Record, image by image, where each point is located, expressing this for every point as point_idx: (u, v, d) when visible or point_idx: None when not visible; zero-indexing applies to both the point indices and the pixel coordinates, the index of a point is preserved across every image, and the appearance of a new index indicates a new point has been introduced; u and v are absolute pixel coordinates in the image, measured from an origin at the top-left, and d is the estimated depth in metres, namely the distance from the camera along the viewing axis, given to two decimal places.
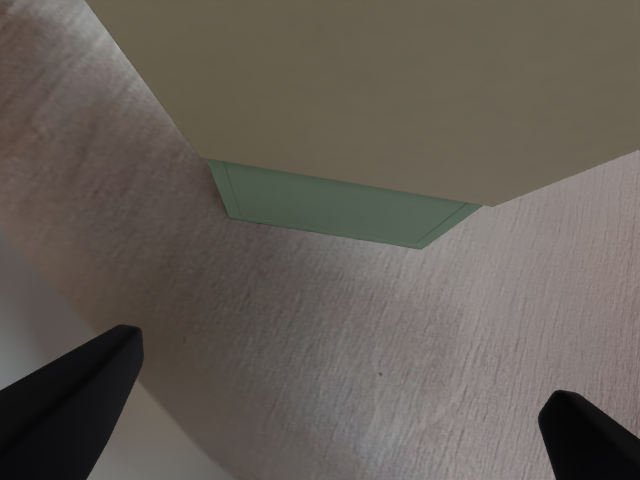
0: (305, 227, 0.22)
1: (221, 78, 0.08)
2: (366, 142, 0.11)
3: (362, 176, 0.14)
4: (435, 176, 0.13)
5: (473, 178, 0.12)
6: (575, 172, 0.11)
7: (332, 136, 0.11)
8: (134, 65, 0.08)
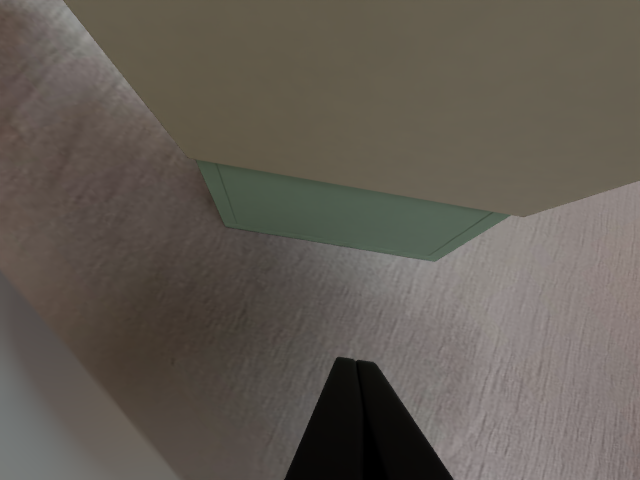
0: (307, 237, 0.20)
1: (206, 54, 0.07)
2: (386, 140, 0.09)
3: (376, 181, 0.12)
4: (464, 181, 0.11)
5: (509, 184, 0.10)
6: None
7: (344, 132, 0.09)
8: (94, 36, 0.07)
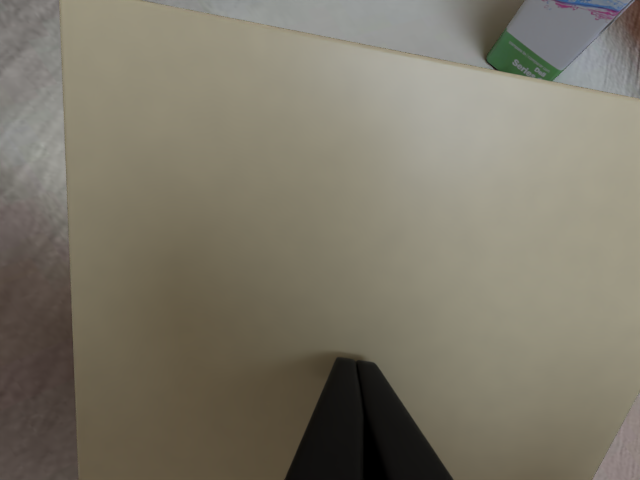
0: None
1: (178, 292, 0.07)
2: None
3: None
4: None
5: (501, 471, 0.09)
6: (617, 423, 0.08)
7: (303, 396, 0.08)
8: (73, 282, 0.07)
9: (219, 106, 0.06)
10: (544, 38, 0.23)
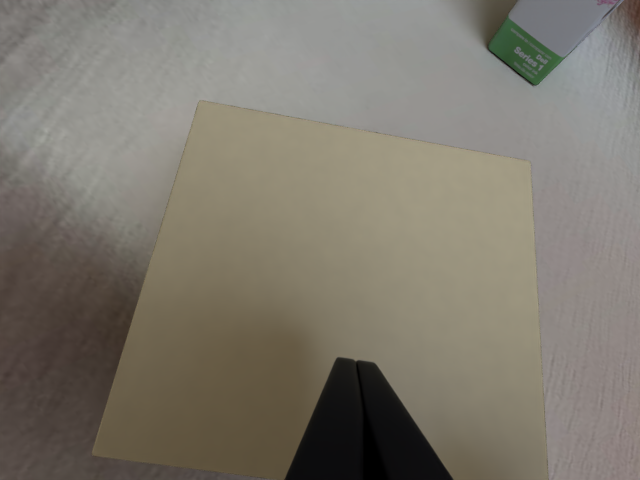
0: None
1: (227, 241, 0.11)
2: (341, 326, 0.11)
3: None
4: (431, 402, 0.10)
5: (470, 394, 0.11)
6: (536, 341, 0.11)
7: (308, 321, 0.11)
8: (160, 234, 0.11)
9: (265, 144, 0.12)
10: (546, 24, 0.23)
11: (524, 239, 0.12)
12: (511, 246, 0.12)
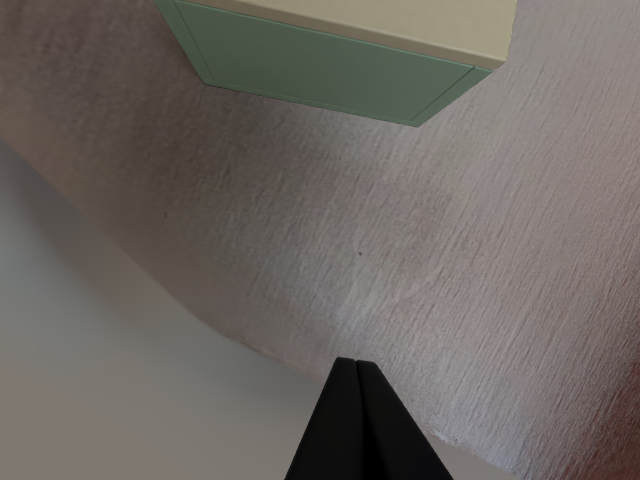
0: (288, 97, 0.20)
1: None
2: None
3: None
4: None
5: None
6: None
7: None
8: None
9: None
10: None
11: None
12: None
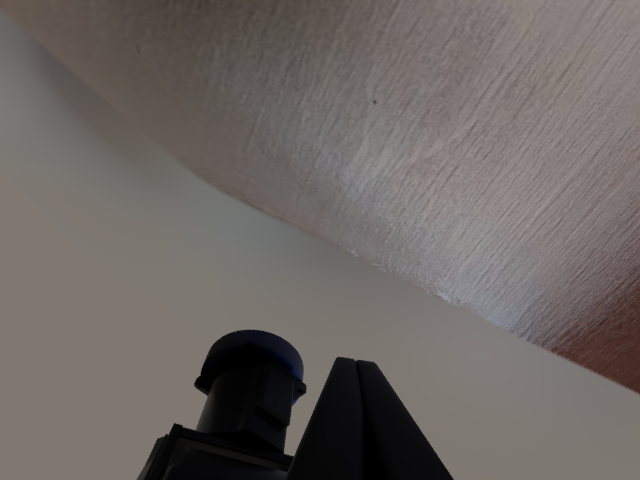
0: None
1: None
2: None
3: None
4: None
5: None
6: None
7: None
8: None
9: None
10: None
11: None
12: None
